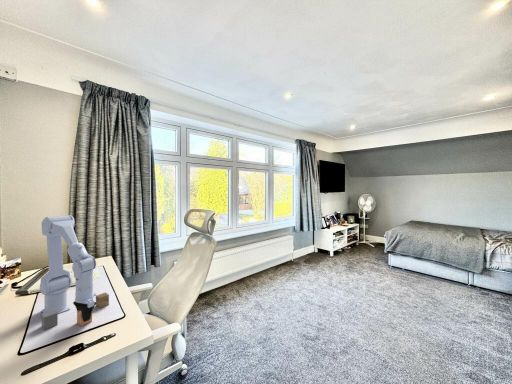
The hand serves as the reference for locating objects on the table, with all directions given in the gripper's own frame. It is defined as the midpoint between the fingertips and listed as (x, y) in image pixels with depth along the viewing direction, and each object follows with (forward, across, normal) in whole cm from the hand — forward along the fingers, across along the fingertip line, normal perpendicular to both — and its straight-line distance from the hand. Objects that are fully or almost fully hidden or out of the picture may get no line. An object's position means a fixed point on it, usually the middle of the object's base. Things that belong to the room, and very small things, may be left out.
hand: (84, 318), depth 92 cm
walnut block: (+2, +9, -10) cm, 14 cm away
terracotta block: (+1, 0, 0) cm, 1 cm away
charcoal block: (+2, +9, +9) cm, 13 cm away
